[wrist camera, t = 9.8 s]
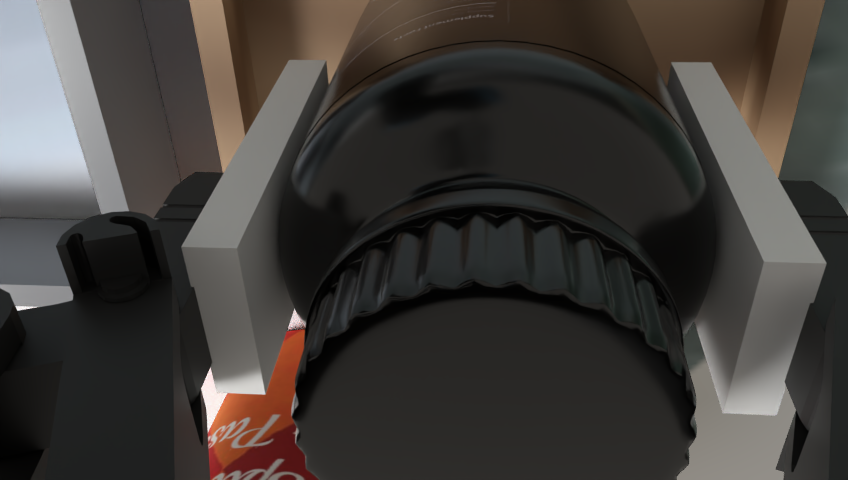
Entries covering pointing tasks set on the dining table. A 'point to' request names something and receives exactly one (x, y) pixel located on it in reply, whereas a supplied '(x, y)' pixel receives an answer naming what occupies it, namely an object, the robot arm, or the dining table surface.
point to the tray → (651, 3)
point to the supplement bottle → (496, 249)
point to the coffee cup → (261, 427)
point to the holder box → (96, 136)
